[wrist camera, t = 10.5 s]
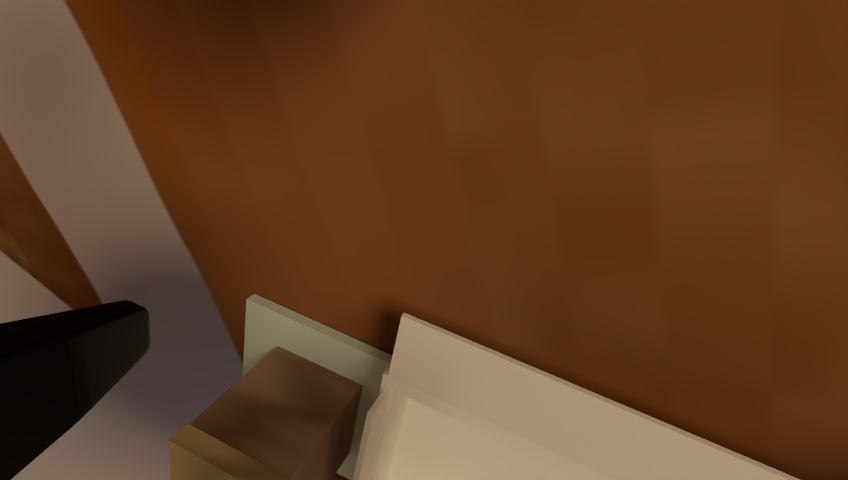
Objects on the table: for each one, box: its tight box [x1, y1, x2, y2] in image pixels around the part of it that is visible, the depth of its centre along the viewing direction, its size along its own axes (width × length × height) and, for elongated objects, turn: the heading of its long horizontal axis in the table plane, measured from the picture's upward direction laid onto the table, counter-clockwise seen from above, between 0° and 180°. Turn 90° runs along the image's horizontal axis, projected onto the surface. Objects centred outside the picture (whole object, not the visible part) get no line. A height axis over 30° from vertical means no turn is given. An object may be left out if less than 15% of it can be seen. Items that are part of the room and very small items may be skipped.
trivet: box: [243, 294, 392, 480], centre depth 27 cm, size 9×9×1 cm
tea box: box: [169, 346, 362, 480], centre depth 24 cm, size 5×5×7 cm
